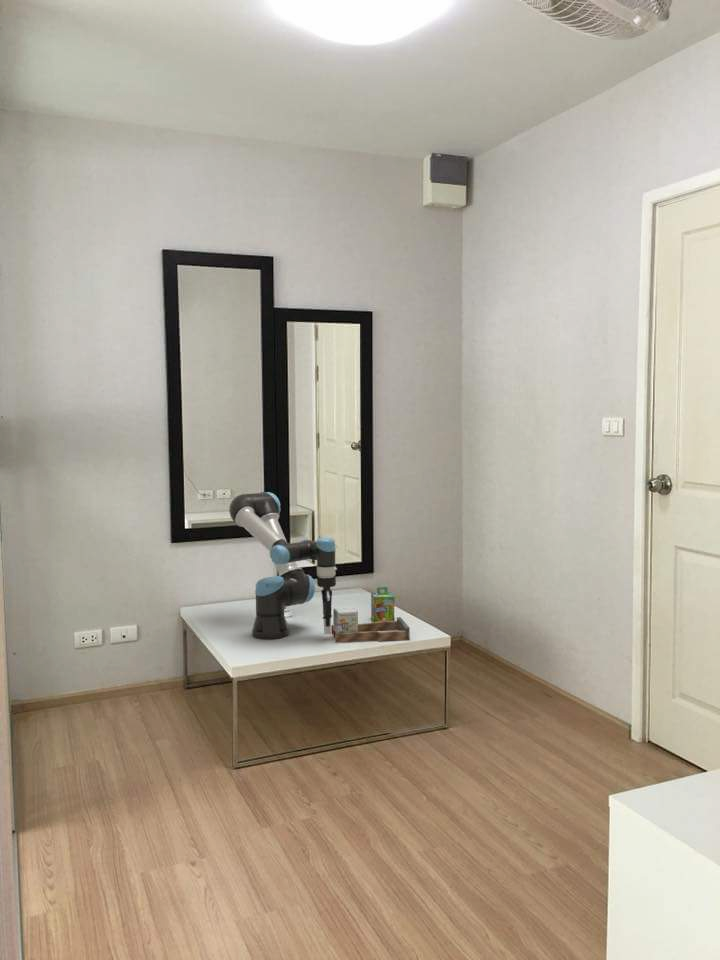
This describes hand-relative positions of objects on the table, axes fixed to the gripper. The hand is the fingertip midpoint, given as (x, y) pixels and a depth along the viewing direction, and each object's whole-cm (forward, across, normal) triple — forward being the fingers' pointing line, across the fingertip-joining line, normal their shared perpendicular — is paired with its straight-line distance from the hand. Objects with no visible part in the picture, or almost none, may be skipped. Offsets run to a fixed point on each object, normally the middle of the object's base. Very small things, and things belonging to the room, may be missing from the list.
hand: (327, 633), depth 332 cm
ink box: (+2, 0, -8) cm, 8 cm away
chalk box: (+2, +24, -27) cm, 37 cm away
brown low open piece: (+2, +1, -17) cm, 18 cm away
